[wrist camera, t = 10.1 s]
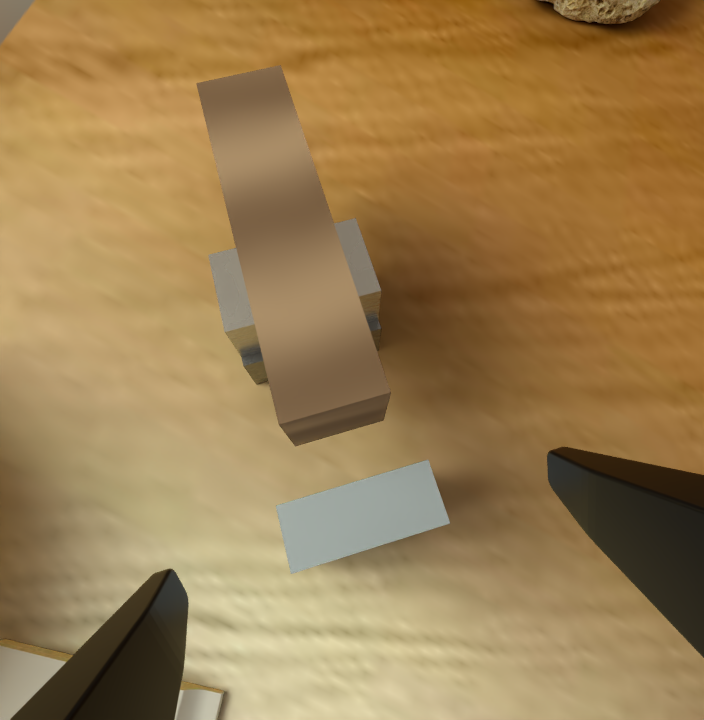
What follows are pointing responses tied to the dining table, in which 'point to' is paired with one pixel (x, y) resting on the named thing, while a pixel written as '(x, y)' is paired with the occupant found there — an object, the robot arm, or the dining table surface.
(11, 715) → the baseboard molding
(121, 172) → the dining table surface
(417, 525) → the light gray rectangular block
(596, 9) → the decorative item
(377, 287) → the grey stepped block
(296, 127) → the batten
